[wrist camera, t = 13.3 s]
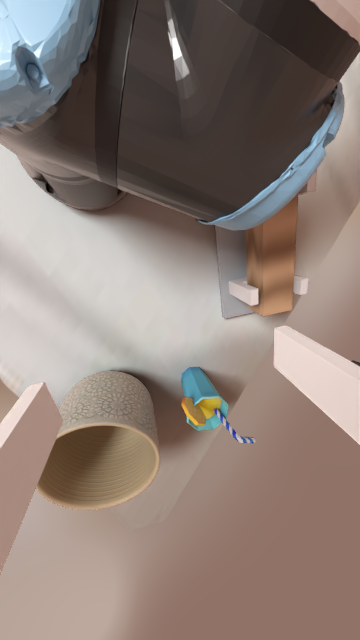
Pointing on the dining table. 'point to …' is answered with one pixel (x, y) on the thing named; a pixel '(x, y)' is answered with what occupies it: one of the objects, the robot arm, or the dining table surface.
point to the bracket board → (244, 268)
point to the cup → (205, 404)
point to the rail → (273, 260)
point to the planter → (102, 444)
